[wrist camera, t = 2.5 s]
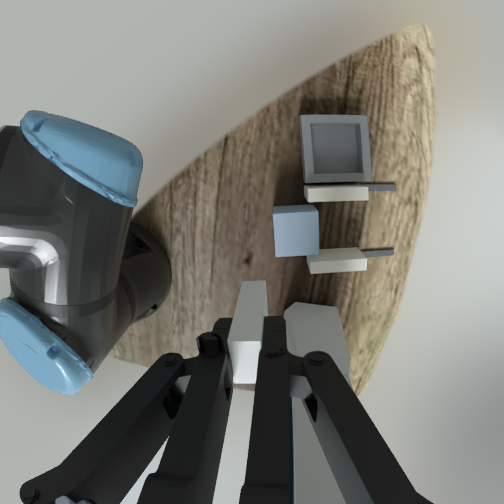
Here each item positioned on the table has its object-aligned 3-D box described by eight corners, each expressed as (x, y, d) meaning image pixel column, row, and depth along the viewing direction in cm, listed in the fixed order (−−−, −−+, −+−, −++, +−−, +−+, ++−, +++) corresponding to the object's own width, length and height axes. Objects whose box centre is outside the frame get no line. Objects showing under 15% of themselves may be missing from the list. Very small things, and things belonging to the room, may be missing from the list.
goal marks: (360, 256, 36) (360, 257, 36) (360, 184, 33) (361, 184, 33) (392, 254, 36) (393, 255, 36) (395, 184, 33) (395, 184, 32)
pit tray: (303, 181, 34) (305, 183, 31) (298, 118, 31) (300, 115, 29) (364, 179, 33) (371, 181, 30) (360, 118, 31) (367, 115, 28)
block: (275, 244, 37) (275, 257, 32) (273, 206, 35) (272, 213, 31) (313, 242, 36) (319, 254, 32) (312, 204, 35) (318, 211, 30)
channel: (306, 260, 37) (310, 273, 33) (303, 185, 34) (307, 188, 30) (356, 257, 36) (366, 270, 32) (357, 183, 33) (368, 187, 29)
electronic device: (316, 366, 43) (336, 539, 14) (272, 362, 43) (262, 542, 15) (337, 302, 39) (399, 502, 10) (286, 296, 39) (294, 515, 11)
